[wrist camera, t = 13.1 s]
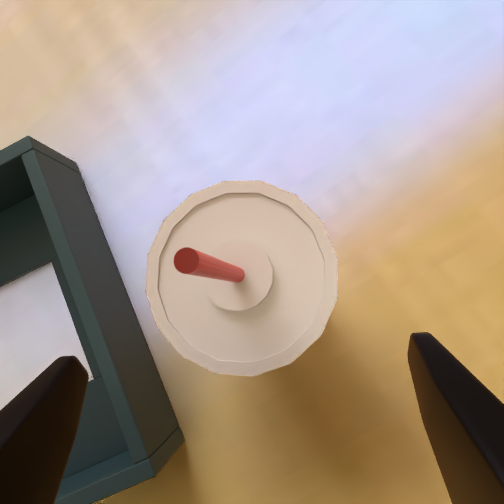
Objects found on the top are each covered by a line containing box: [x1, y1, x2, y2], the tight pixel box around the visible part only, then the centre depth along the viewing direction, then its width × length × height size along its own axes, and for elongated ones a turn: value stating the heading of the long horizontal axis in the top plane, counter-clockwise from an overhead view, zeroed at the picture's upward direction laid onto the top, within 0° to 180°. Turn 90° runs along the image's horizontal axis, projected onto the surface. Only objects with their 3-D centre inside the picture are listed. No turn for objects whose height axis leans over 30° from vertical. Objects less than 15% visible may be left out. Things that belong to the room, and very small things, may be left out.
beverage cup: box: [145, 181, 338, 376], centre depth 13 cm, size 6×6×14 cm
